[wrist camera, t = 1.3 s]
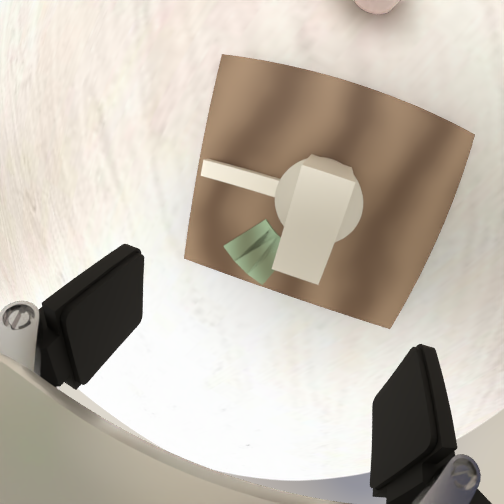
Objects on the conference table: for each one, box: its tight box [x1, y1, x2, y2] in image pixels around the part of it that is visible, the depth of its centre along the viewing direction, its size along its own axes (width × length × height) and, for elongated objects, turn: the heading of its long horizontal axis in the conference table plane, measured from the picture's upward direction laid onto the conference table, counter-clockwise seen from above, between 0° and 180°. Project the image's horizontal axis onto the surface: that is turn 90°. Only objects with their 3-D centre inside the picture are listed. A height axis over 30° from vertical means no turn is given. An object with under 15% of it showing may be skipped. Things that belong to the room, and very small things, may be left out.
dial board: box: [184, 54, 475, 329], centre depth 25 cm, size 22×20×1 cm
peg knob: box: [201, 154, 363, 285], centre depth 22 cm, size 14×7×7 cm, turn 77°
